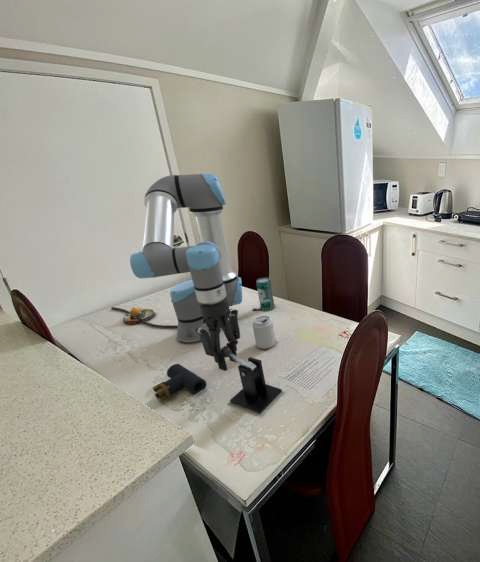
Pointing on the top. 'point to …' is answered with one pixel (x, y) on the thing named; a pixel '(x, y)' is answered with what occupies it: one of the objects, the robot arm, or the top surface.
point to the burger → (138, 315)
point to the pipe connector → (179, 383)
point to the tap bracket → (254, 389)
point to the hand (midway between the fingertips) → (228, 364)
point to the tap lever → (237, 358)
